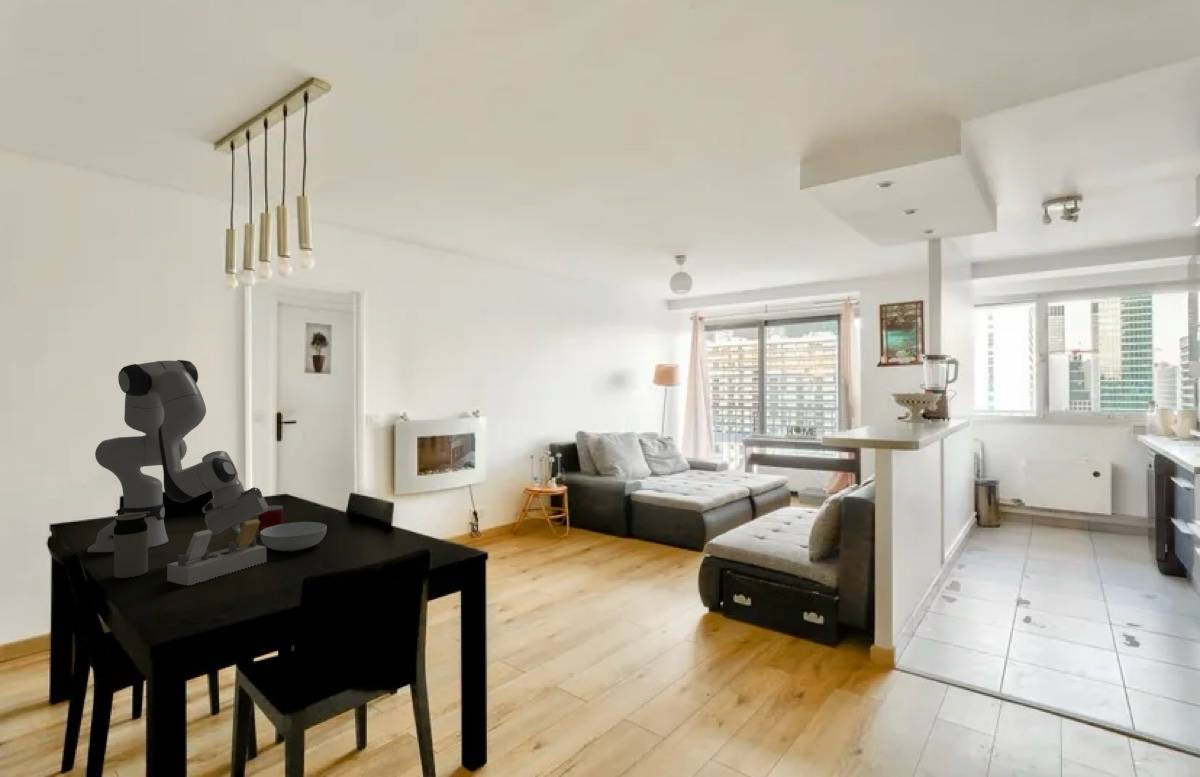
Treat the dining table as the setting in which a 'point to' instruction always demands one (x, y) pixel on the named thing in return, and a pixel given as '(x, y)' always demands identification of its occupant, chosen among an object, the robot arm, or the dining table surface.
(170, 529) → the dining table surface
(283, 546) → the serving bowl
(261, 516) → the canned food
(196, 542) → the white paddle
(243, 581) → the dining table surface
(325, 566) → the dining table surface
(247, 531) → the amber paddle
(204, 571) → the long paddle holder base
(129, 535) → the travel mug
